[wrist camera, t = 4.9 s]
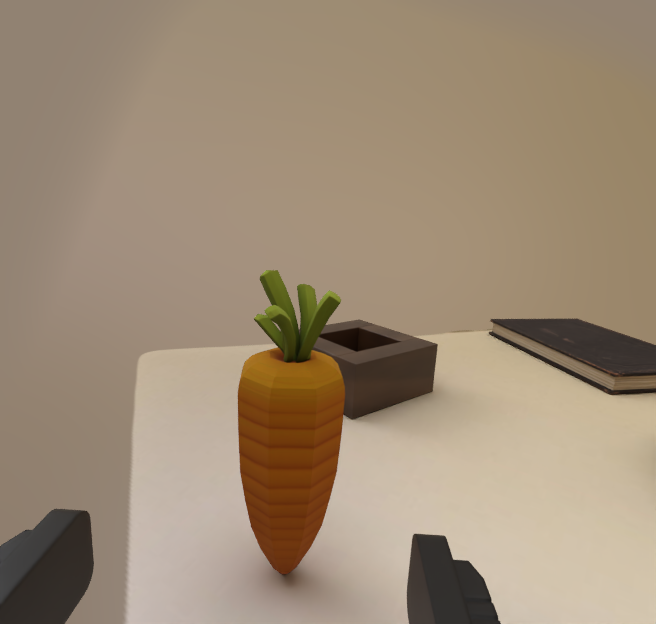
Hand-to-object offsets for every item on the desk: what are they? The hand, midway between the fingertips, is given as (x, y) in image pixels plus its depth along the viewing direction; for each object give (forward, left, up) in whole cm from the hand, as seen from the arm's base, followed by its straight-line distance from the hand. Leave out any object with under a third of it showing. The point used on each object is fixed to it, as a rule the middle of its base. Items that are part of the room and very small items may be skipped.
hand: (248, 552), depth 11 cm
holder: (-23, +27, -9) cm, 36 cm away
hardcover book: (-13, +60, -10) cm, 62 cm away
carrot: (-7, +7, -10) cm, 14 cm away
